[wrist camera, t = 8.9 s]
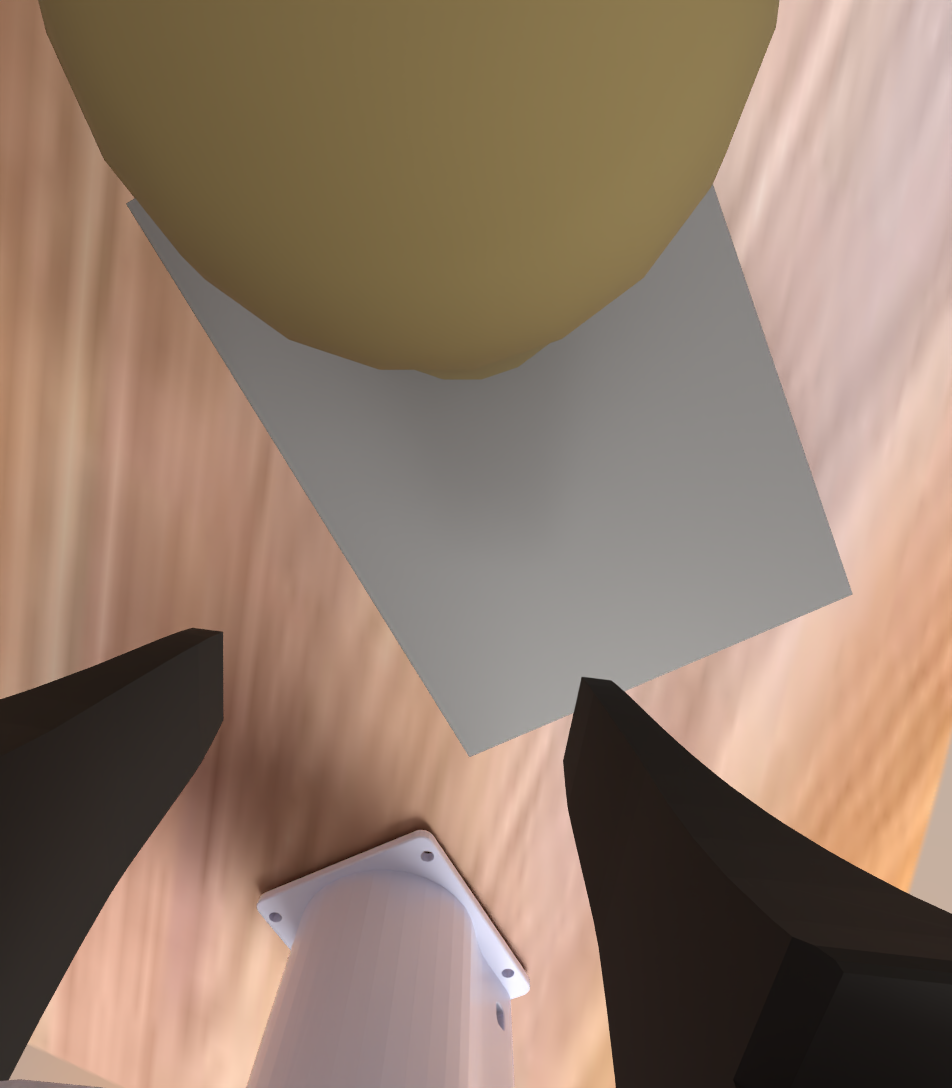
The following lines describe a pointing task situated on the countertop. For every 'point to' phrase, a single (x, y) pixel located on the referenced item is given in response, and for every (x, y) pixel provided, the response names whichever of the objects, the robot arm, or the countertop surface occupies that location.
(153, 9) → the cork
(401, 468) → the gray flat panel
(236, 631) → the countertop surface
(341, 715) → the countertop surface
